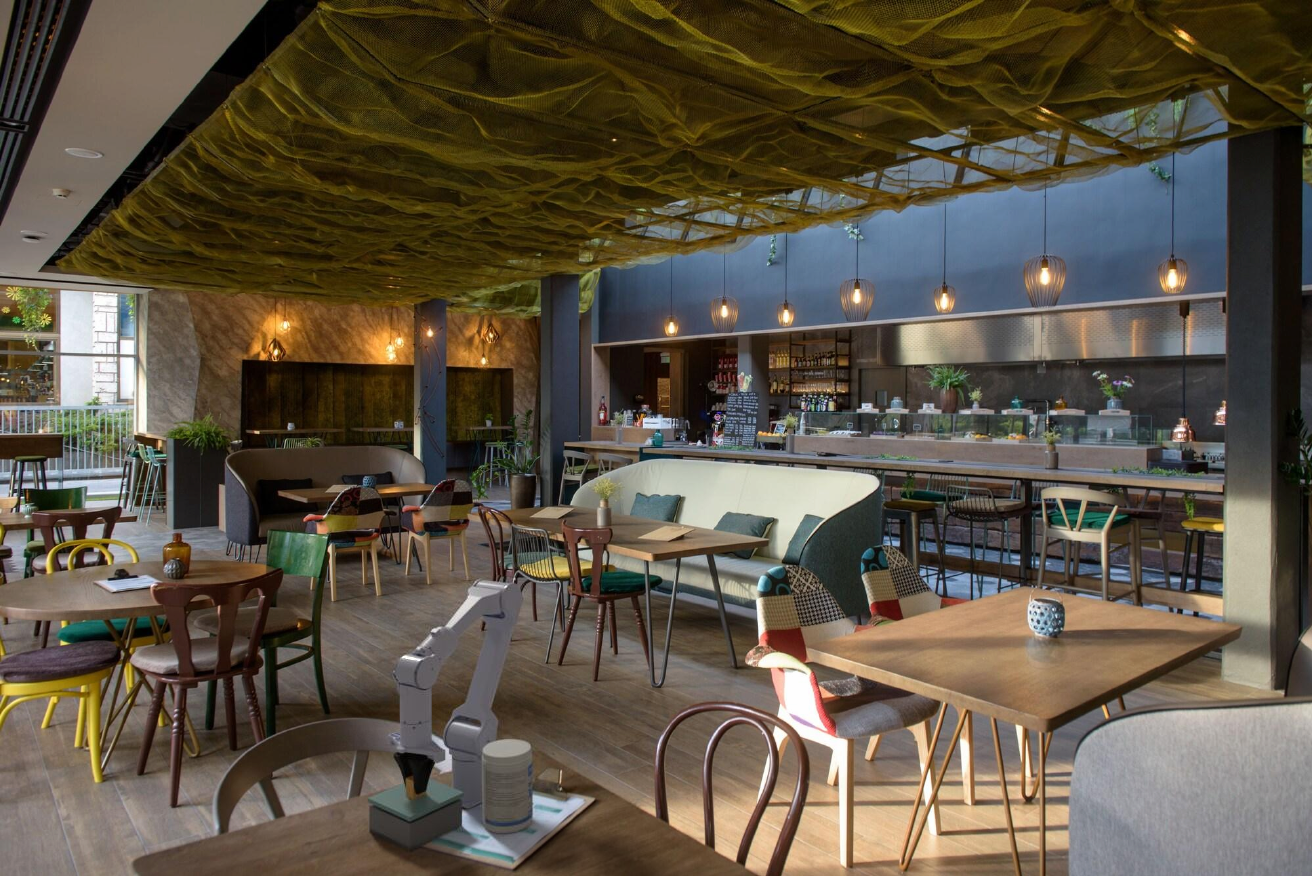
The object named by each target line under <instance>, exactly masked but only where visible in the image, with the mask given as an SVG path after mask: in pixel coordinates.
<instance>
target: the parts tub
mask: <svg viewBox="0 0 1312 876" xmlns="http://www.w3.org/2000/svg"><path fill="white" fill-rule="evenodd" d="M368 810H369V813H368V814H369V815H368V817H369V820H368V821H369V826H368V827H369V833H371V834H373V835H375V836H377V837H380V838H381V839H383V840H385V841H387V842H389V843H390V844H391V843H392V844H394V846H395V845H396V847H400V848H401V849H403V850H405V851H408V852H410V853H411V852H413V851H415V850H417V849H419V848H421V847H423V846H425V845H427V844H429V843H431V842H433V841H435V840H437V839H439V838H441V837H444V836H445V835H447V834H449V833H451V832H453V831H455V830H457V829H460V828H461V827H463V807H462V800H461V799H457V800H455V801H453V802H451V803H449V804H447V805H445V806H443V807H440V808H438V809H436V810H434V811H432V812H430V813H428V814H425V815H423V816H421V817H419V818H417V819H415V820H413V821H408V820H406V819H403V818H401V817H399V816H397V815H395V814H392V813H390V812H388V811H386V810H384V809H382V808H379V807H377V806H375V805H373V804H369V809H368Z"/></svg>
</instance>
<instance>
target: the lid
mask: <svg viewBox="0 0 1312 876" xmlns="http://www.w3.org/2000/svg"><path fill="white" fill-rule="evenodd" d="M462 797H464V792H462V791H459V790H457V789H454V788H452V786H449V785H447V784H444V783H441V782H439V781H436V780H434V779H433V778H432V779H431V778H429V781H428V786H427V790H426V791H425V792H423V793H420V794H416V793H415V789H414V779H413V775H412V776H410V777H407V778H406V787H405V784H404V782H402V783H400V784H398V785H395V786H393V787H390V788H388V789H386V790H384V791H381V792H379V793H377V794H374V795H372V796H370V797H368V798H367V803H369V804H370V805H372V804H373V805H375V806H377V807H379V808H382V809H384V810H386V811H388V812H390V813H392V814H395V815H397V816H399V817H401V818H403V819H406V820H408V821H413V820H415V819H417V818H419V817H421V816H423V815H425V814H428V813H430V812H432V811H434V810H436V809H438V808H440V807H443V806H445V805H447V804H449V803H451V802H453V801H455V800H457V799H459V798H462Z"/></svg>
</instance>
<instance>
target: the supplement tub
mask: <svg viewBox="0 0 1312 876" xmlns="http://www.w3.org/2000/svg"><path fill="white" fill-rule="evenodd" d="M533 784H534V783H533V752H532V746H531V744H530V742H528V741H526V740H523V739H515V738H508V739H498V740H496V741H494V742H491V743H489V744H487V745H486V746H485V747H484V748H483V755H482V803H481V806H482V807H481V810H482V811H481V812H482V815H481V816H482V824H483V826H484V828H485V829H487V830H488V831H491V832H492V833H495V834H511V833H517V832H519V831H522V830H524V829H526V828H527V827H528V826H530V825H531V823H532V822H533V814H534V813H533V812H534V810H533V805H534V800H533V799H534V797H533V790H534V789H533V788H534V787H533Z"/></svg>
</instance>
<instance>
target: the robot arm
mask: <svg viewBox="0 0 1312 876" xmlns="http://www.w3.org/2000/svg"><path fill="white" fill-rule="evenodd" d="M523 603H524V597H523V593H522V591H521V588H520V586H519V585H518V584H517V583H514V582H510V583H509V582H504V581H503V582H502V581H494V580H486V579H484V578H479V579H477V580H475V581H474V582H473V584H472V585H471V586H470V587H469V588H468V589H467V595H466V599H465V601H464V602H463V603H462V604H461V606H460V607H459V608H458V609H457V610H456V611H455V613H454V614H453V616H452V617H451V618H450V620H448V622H447V623H446V625H445V626H436V627H435V628H432V629H431V631H430V633H429V634H428V635H427V636H426V637H425V638H424V639H423V641H422V642H421V643H420V644H419V645H418V646H417V647H416V648H415V649H414V650H413V651H412V652H411V653H408V654H404V655H403V656H401V657H400V658H399V659H398V660H397V662H396V663H395V666H394V670H393V671H392V679H393V682H395V684H396V686H397V688H396V689H397V690H396V691H397V693H398V694H399V732H398V731H394V732H392V733H389V734H387V745H389V746H396V747H395V753H393V754H392V755H393V759H394V760H395V762H396V764H397V766H398V768H399V770H400V773H401V776H402V779H403V783H404V784H405V787H406V778H407V777H410V776H412V775H413V779H414V789H415V793H416V794H420V793H423V792H425V791H426V790H427V786H428V781H429V779H431V778H430V777H431V774H432V771H433V769H434V766H435V765H436V764H439V763H442V762H443V761H446V749H444V748H442V747H441V746H440V745H439V744H438V743H437V742H436V741H435V740H434V739H432V737H433V735H432V722H433V720H432V719H433V718H432V716H433V715H432V687H433V685H435V684H436V682H437V679H438V677H439V673H440V671H441V669H442V667H443V666H442V665H443V664H444V663H445V662H446V661H447V660H448V658H449V657H450V656H451V655H453V653H454V652H455V651H456V649H457V648H458V646H459V638H460V637H461V636H462V635H463V634H464V633H465V632H466V631H467V630H468V629H469V628H471V626H472V625H473V624H474V623H476V622H477V621H478V620H479V619H481V620H482V621H484V622H485V624H486V626H487V631H486V633H485V637H484V640H483V643H482V647H481V650H480V654H479V657H478V661H477V664H476V665H475V666H476V667H475V669H474V673H473V677H472V680H471V684H470V686H469V689H468V693H467V695H466V696H467V697H466V699H465V702H464V703H463V704H461V705H460V706H458V707H456V708H455V709H453V710H452V713H451V716H450V719H449V721H448V722H447V723H446V724H445V727H444V730H443V733H442V742H443V745H444V747H445V748H447V749H448V754H449V755H450V756H451V787H452V788H454V789H457V790H459V791H462V792H464V797H462V798H459V799H461V800H462V808H465V809H467V810H468V809H471V808H473V807H475V806H478V805H480V804H482V755H483V748H484V747H485V746H486V745H487V744H489V743H491V742H494V741H498V740H497V737H498V736H497V735H498V734H497V732H498V731H497V730H498V726H499V720H498V718H497V716H496V715H495V713H494V712H493V711H492V706H493V703H494V699H495V695H496V692H497V688H498V685H499V682H500V678H501V675H502V672H503V669H504V665H505V661H506V658H507V655H508V652H509V648H510V645H511V641H512V637H513V633H514V631H515V626H516V625H517V623H518V619H519V615H520V612H521V609H522V606H523ZM471 720H475V721H471ZM476 721H477V722H476ZM478 721H479V722H478Z"/></svg>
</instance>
